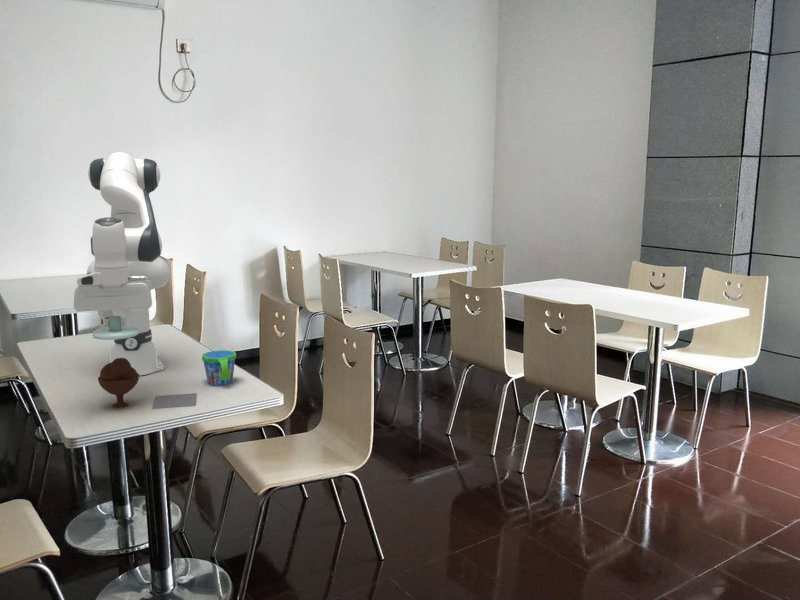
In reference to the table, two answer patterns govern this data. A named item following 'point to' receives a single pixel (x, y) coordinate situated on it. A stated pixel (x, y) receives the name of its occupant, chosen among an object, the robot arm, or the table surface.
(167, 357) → the table surface
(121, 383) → the ice cream bowl
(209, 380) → the snack cup
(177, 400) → the mat
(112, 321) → the lid
